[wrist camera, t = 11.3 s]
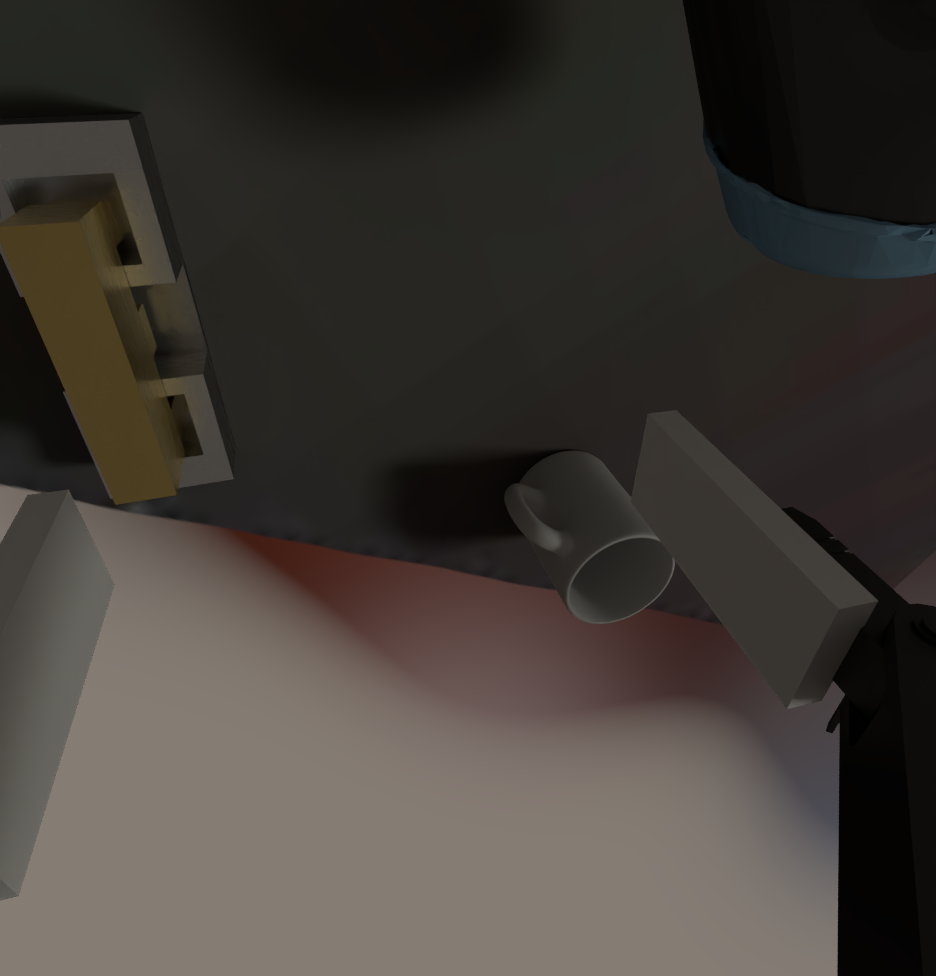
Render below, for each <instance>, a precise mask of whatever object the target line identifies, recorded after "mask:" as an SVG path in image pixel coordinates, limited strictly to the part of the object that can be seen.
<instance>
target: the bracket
mask: <svg viewBox="0 0 936 976" xmlns="http://www.w3.org/2000/svg"><path fill="white" fill-rule="evenodd" d="M97 197H108V199H109V202H110V205H111V208H112V211H113V214H114V217H115V220H116V223H117V226H118V229H119V232H120V236H121V239H122V240H121V241H120V243H119V244H118V245H117V247H116V248H117V251H118V254H119V257H120V260H121V263H122V266H123V269H124V272H125V275H126V278H127V281H128V284H129V287H130V290H131V293H132V296H133V299H134V302H135V303H143V306H144V309H145V312H146V315H147V318H148V321H149V324H150V327H151V330H152V333H153V336H154V339H155V342H156V345H157V348H156V351H155V354H154V357H153V358H154V361H155V364H156V367H157V370H158V373H159V376H160V379H161V382H162V385H163V388H164V391H165V394H166V397H167V399H173V398H174V400H175V403H176V406H177V409H178V412H179V415H180V418H181V421H182V424H183V427H184V428H183V433H182V438H181V442H182V444H183V447H184V450H185V455H184V461H183V466H182V471H181V477H180V482H179V487H178V488H181V487H187V486H193V485H200V484H206V483H212V482H218V481H225V480H231V479H234V468H235V451H236V445H235V442H234V438H233V435H232V431H231V427H230V424H229V420H228V417H227V413H226V410H225V406H224V402H223V399H222V395H221V392H220V388H219V385H218V381H217V378H216V374H215V370H214V367H213V363H212V360H211V356H210V353H209V349H208V345H207V342H206V338H205V335H204V331H203V328H202V324H201V320H200V317H199V313H198V310H197V306H196V303H195V299H194V295H193V292H192V288H191V285H190V281H189V278H188V274H187V271H186V267H185V263H184V260H183V256H182V253H181V249H180V246H179V242H178V238H177V235H176V231H175V228H174V224H173V221H172V217H171V213H170V210H169V206H168V203H167V199H166V196H165V192H164V189H163V185H162V181H161V178H160V174H159V171H158V167H157V164H156V160H155V156H154V153H153V149H152V146H151V142H150V139H149V135H148V131H147V128H146V124H145V121H144V117H143V114H142V113H129V114H103V115H77V116H51V117H26V118H0V223H1V222H3V221H4V220H6V219H7V218H9V217H10V216H12V215H13V214H15V213H16V212H18V211H19V210H21V209H23V208H24V207H26V206H27V205H43V204H47V203H48V202H50V201H51V200H64V199H80V198H97ZM0 253H1V255H2V257H3V260H4V262H5V264H6V266H7V269H8V271H9V273H10V275H11V277H12V280H13V282H14V284H15V286H16V289H17V291H18V293H19V295H20V297H24V296H23V294H22V291H21V289H20V287H19V285H18V282H17V280H16V278H15V276H14V273H13V271H12V269H11V267H10V264H9V262H8V260H7V257H6V255H5V253H4V251H3V248H2V246H1V244H0ZM63 394H64V396H65V398H66V400H67V403H68V405H69V407H70V409H71V412H72V414H73V416H74V418H75V421H76V423H77V425H78V427H79V430H80V432H81V434H82V436H83V438H84V441H85V443H86V445H87V447H88V450H89V452H90V454H91V456H92V459H93V461H94V463H95V465H96V468H97V470H98V472H99V474H100V477H101V479H102V481H103V483H104V485H105V488H106V490H107V492H108V494H109V497H110V499H112V496H111V494H110V491H109V489H108V487H107V484H106V482H105V480H104V478H103V475H102V473H101V471H100V469H99V466H98V464H97V462H96V459H95V457H94V455H93V453H92V450H91V448H90V446H89V444H88V441H87V439H86V437H85V435H84V432H83V430H82V428H81V425H80V423H79V421H78V419H77V416H76V414H75V412H74V410H73V407H72V405H71V403H70V400H69V398H68V396H67V394H66V391H65V389H64V390H63Z"/></svg>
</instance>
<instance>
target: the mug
mask: <svg viewBox="0 0 936 976" xmlns="http://www.w3.org/2000/svg"><path fill="white" fill-rule="evenodd" d="M504 500H505V504H506V507H507V510H508V512H509V514H510V516H511V518H512V519H513V521H514V522H515V524H516V525H517V527H518V528H519V529H520V531H521V532H522V533H523V534H524V535H525V536H526V537H527V538H528V540H529V542H530V543H531V545H532V547H533V549H534V550H535V552H536V554H537V556H538V558H539V559H540V561H541V563H542V565H543V567H544V568H545V570H546V572H547V574H548V576H549V577H550V579H551V581H552V583H553V585H554V586H555V588H556V590H557V592H558V594H559V595H560V597H561V599H562V601H563V603H564V604H565V606H566V608H567V609H568V610H569V611H570V613H571V614H572V615H573V616H575V617H576V618H577V619H579V620H581V621H584V622H588V623H595V624H605V623H612V622H616V621H619V620H622V619H625V618H628V617H630V616H632V615H634V614H636V613H638V612H639V611H641V610H643V609H644V608H645V607H647V606H648V605H649V604H651V603H652V602H653V601H654V600H655V599H656V598H657V597H658V596H659V595H660V594H661V593H662V592H663V590H664V589H665V587H666V586H667V585H668V583H669V581H670V579H671V577H672V574H673V571H674V566H675V560H674V559H673V557H672V556H671V555H670V553H669V552H668V551H667V549H666V548H665V547H664V545H663V544H662V543H661V541H660V540H659V539H658V537H657V536H656V535H655V533H654V532H653V531H652V529H651V528H650V527H649V525H648V524H647V523H646V521H645V520H644V519H643V517H642V516H641V515H640V513H639V512H638V511H637V509H636V508H635V507H634V505H633V504H632V503H631V497H630V496H629V495H628V493H627V492H626V491H625V490H624V489H623V487H622V486H621V485H620V484H619V483H618V481H617V480H616V479H615V478H614V476H613V475H612V474H611V472H610V471H609V470H608V469H607V467H606V466H605V465H604V464H603V463H602V462H601V461H600V460H599V459H598V458H596V457H595V456H593V455H591V454H589V453H587V452H583V451H575V450H574V451H563V452H559V453H555V454H553V455H550V456H548V457H546V458H544V459H542V460H541V461H539V462H538V463H536V464H535V465H534V466H533V467H531V468H530V469H529V470H528V471H527V472H526V474H525V475H524V476H523V478H522V479H521V481H520V482H519V483H514V484H512V485H510V486H509V487H508V488H507V489H506V491H505V496H504Z"/></svg>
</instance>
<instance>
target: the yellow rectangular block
mask: <svg viewBox="0 0 936 976" xmlns="http://www.w3.org/2000/svg"><path fill="white" fill-rule="evenodd" d="M121 240H122V239H121V236H120V232H119V229H118V226H117V223H116V220H115V217H114V214H113V211H112V208H111V205H110V202H109V199H108V197H97V198H80V199H64V200H51V201H50V202H48V203H47V204H43V205H27V206H26V207H24V208H23V209H21V210H19V211H18V212H16V213H15V214H13V215H12V216H10V217H9V218H7V219H6V220H4V221H3V222H1V223H0V244H1V246H2V248H3V251H4V253H5V255H6V257H7V260H8V262H9V264H10V267H11V269H12V271H13V273H14V276H15V278H16V280H17V282H18V285H19V287H20V289H21V291H22V294H23V296H24V298H25V301H26V303H27V305H28V307H29V310H30V312H31V314H32V316H33V319H34V321H35V323H36V326H37V328H38V330H39V332H40V335H41V337H42V339H43V341H44V344H45V346H46V348H47V351H48V353H49V355H50V357H51V360H52V362H53V364H54V366H55V369H56V371H57V373H58V375H59V378H60V380H61V382H62V385H63V387H64V389H65V391H66V394H67V396H68V398H69V400H70V403H71V405H72V407H73V410H74V412H75V414H76V416H77V419H78V421H79V423H80V425H81V428H82V430H83V432H84V435H85V437H86V439H87V441H88V444H89V446H90V448H91V450H92V453H93V455H94V457H95V459H96V462H97V464H98V466H99V469H100V471H101V473H102V475H103V478H104V480H105V482H106V484H107V487H108V489H109V491H110V494H111V496H112V498H113V500H114V503H115V505H117V504H123V503H129V502H135V501H141V500H148V499H154V498H160V497H166V496H173V495H177V493H178V487H179V482H180V477H181V471H182V466H183V461H184V455H185V450H184V447H183V444H182V442H181V438H182V433H183V428H184V427H183V424H182V421H181V418H180V415H179V412H178V409H177V406H176V403H175V400H174V398H173V399H167V397H166V394H165V391H164V388H163V385H162V382H161V379H160V376H159V373H158V370H157V367H156V364H155V361H154V358H153V357H154V354H155V351H156V348H157V345H156V342H155V339H154V336H153V333H152V330H151V327H150V324H149V321H148V318H147V315H146V312H145V309H144V306H143V303H135V302H134V299H133V296H132V293H131V290H130V287H129V284H128V281H127V278H126V275H125V272H124V269H123V266H122V263H121V260H120V257H119V254H118V251H117V248H116V247H117V245H118V244H119V243H120V241H121Z"/></svg>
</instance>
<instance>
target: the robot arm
mask: <svg viewBox="0 0 936 976" xmlns="http://www.w3.org/2000/svg"><path fill="white" fill-rule="evenodd" d="M683 5H684V10H685V16H686V22H687V27H688V33H689V38H690V44H691V50H692V55H693V61H694V66H695V72H696V77H697V83H698V89H699V94H700V100H701V105H702V111H703V117H704V120H703V140H704V145H705V149H706V152H707V154H708V156H709V158H710V160H711V162H712V164H713V165H714V166H715V167H716V171H717V175H718V179H719V183H720V187H721V191H722V195H723V199H724V203H725V207H726V211H727V214H728V217H729V219H730V221H731V223H732V225H733V226H734V228H735V230H736V231H737V232H738V234H739V235H740V236H741V237H742V238H743V239H745V240H746V241H748V242H750V243H752V244H753V245H754V246H755V247H756V249H757V250H759V251H760V252H761V253H762V254H763V255H765V256H766V257H768V258H770V259H772V260H774V261H776V262H778V263H781V264H783V265H786V266H789V267H792V268H795V269H798V270H802V271H806V272H811V273H815V274H821V275H827V276H835V277H846V278H866V279H881V278H900V277H911V276H920V275H926V274H932V273H936V0H683ZM631 503H632V504H633V505H634V507H635V508H636V509H637V511H638V512H639V513H640V515H641V516H642V517H643V519H644V520H645V521H646V523H647V524H648V525H649V527H650V528H651V529H652V531H653V532H654V533H655V535H656V536H657V537H658V539H659V540H660V541H661V543H662V544H663V545H664V547H665V548H666V549H667V551H668V552H669V553H670V555H671V556H672V557H673V559H674V560H675V561H676V563H677V564H678V565H679V567H680V568H681V569H682V571H683V572H684V573H685V575H686V576H687V577H688V579H689V580H690V581H691V582H692V584H693V585H694V586H695V588H696V589H697V590H698V592H699V593H700V594H701V596H702V597H703V598H704V600H705V601H706V602H707V604H708V605H709V606H710V608H711V609H712V610H713V612H714V613H715V614H716V616H717V617H718V618H719V620H720V621H721V622H722V624H723V625H724V626H725V628H726V629H727V630H728V632H729V633H730V634H731V636H732V637H733V638H734V640H735V641H736V642H737V643H738V645H739V646H740V647H741V649H742V650H743V652H744V653H745V654H746V656H747V657H748V658H749V659H750V661H751V662H752V663H753V665H754V666H755V667H756V669H757V670H758V671H759V673H760V674H761V675H762V677H763V678H764V679H765V681H766V682H767V683H768V685H769V686H770V687H771V689H772V690H773V691H774V693H775V694H776V695H777V697H778V698H779V699H780V701H781V702H782V703H783V705H784V706H785V707H786V709H789V708H794V707H798V706H802V705H806V704H810V703H814V702H818V701H822V699H823V697H824V696H825V694H826V692H827V690H828V689H829V687H830V685H831V683H832V682H833V681H834V682H835V683H836V684H837V685H838V686H839V688H840V689H841V690H842V691H843V692H844V693H845V696H844V698H843V699H842V701H841V703H840V704H839V706H838V708H837V709H836V711H835V713H834V714H833V716H832V718H831V719H830V721H829V723H828V726H827V729H826V731H827V732H830V733H833V731H834V730H835V728H836V726H837V725H838V724H839V723H840V759H839V768H840V769H839V868H838V869H839V872H838V976H936V607H934V606H928V605H923V604H909V603H908V602H906V601H905V600H904V599H903V598H902V597H901V596H900V595H899V594H897V593H896V592H895V591H894V590H893V589H892V588H891V587H890V586H889V585H887V584H886V583H885V582H884V581H883V580H882V579H881V578H880V577H879V576H878V575H876V574H875V573H874V572H873V571H872V570H871V569H870V568H869V567H868V566H866V565H865V564H864V563H863V562H862V561H861V560H860V559H859V558H858V557H856V556H855V555H854V554H850V553H849V549H848V548H846V547H845V546H844V545H843V544H842V543H841V542H840V541H839V540H835V539H834V536H833V535H832V534H831V533H830V532H829V531H828V530H826V529H825V528H824V527H823V526H822V525H821V524H820V523H819V522H818V521H816V520H815V519H813V518H811V517H809V516H807V515H806V514H804V513H802V512H800V511H798V510H796V509H794V508H793V507H789V508H783V509H780V508H779V507H778V506H777V505H776V504H775V503H774V502H773V501H772V500H771V499H770V498H769V497H768V496H767V495H765V494H764V493H763V492H762V491H761V490H760V489H759V488H758V487H757V486H756V485H755V484H754V483H753V482H752V481H751V480H750V479H749V478H747V477H746V476H745V475H744V474H743V473H742V472H741V471H740V470H739V469H738V468H737V467H736V466H735V465H734V464H733V463H732V462H730V461H729V460H728V459H727V458H726V457H725V456H724V455H723V454H722V453H721V452H720V451H719V450H718V449H717V448H716V447H715V446H713V445H712V444H711V443H710V442H709V441H708V440H707V439H706V438H705V437H704V436H703V435H702V434H701V433H700V432H699V431H698V430H697V429H695V428H694V427H693V426H692V425H691V424H690V423H689V422H688V421H687V420H686V419H685V418H684V417H683V416H682V415H681V414H680V413H678V412H677V411H676V410H673V411H666V412H658V413H650V414H648V416H647V421H646V427H645V432H644V437H643V442H642V447H641V452H640V457H639V462H638V467H637V472H636V477H635V483H634V488H633V493H632V498H631ZM113 588H114V582H113V580H112V578H111V576H110V574H109V572H108V570H107V568H106V566H105V564H104V562H103V560H102V558H101V556H100V553H99V551H98V549H97V547H96V545H95V543H94V541H93V539H92V537H91V535H90V533H89V531H88V529H87V527H86V525H85V523H84V521H83V519H82V516H81V514H80V512H79V510H78V508H77V506H76V504H75V502H74V500H73V498H72V496H71V494H70V492H69V490H63V491H55V492H48V493H40V494H32V495H27V497H26V499H25V501H24V503H23V504H22V506H21V508H20V510H19V511H18V513H17V515H16V517H15V519H14V520H13V522H12V524H11V526H10V528H9V529H8V531H7V533H6V535H5V536H4V538H3V540H2V542H1V544H0V900H4V899H8V898H12V897H16V896H19V893H20V890H21V886H22V883H23V880H24V877H25V873H26V870H27V867H28V864H29V860H30V857H31V854H32V851H33V847H34V844H35V841H36V837H37V834H38V831H39V828H40V825H41V822H42V818H43V815H44V812H45V809H46V805H47V802H48V799H49V795H50V792H51V789H52V786H53V783H54V779H55V776H56V773H57V770H58V766H59V763H60V760H61V757H62V753H63V750H64V747H65V744H66V740H67V737H68V734H69V731H70V727H71V724H72V721H73V717H74V714H75V711H76V708H77V705H78V701H79V698H80V695H81V692H82V688H83V685H84V682H85V679H86V676H87V672H88V669H89V666H90V662H91V659H92V656H93V653H94V650H95V646H96V643H97V640H98V637H99V633H100V630H101V627H102V624H103V620H104V617H105V614H106V610H107V607H108V604H109V601H110V597H111V594H112V591H113Z"/></svg>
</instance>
